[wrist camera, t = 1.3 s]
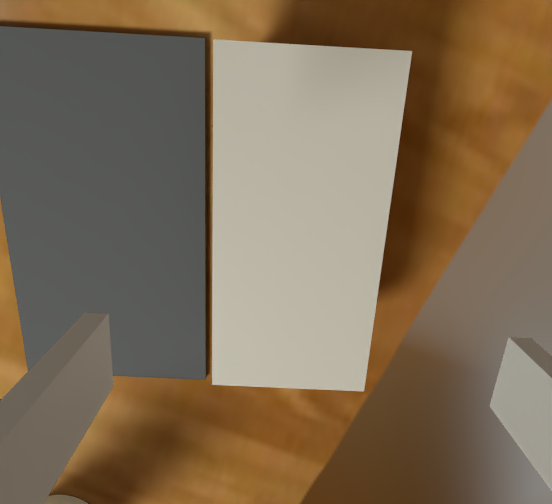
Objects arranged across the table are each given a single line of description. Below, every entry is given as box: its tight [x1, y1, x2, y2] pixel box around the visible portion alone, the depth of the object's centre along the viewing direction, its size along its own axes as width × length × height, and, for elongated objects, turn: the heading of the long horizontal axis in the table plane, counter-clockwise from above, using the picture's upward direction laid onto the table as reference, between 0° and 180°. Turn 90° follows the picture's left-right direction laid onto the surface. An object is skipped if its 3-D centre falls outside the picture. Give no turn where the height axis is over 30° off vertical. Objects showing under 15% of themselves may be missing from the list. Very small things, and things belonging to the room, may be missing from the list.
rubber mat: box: [0, 26, 206, 380], centre depth 33 cm, size 28×16×1 cm, turn 177°
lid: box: [212, 40, 412, 391], centre depth 27 cm, size 22×11×3 cm, turn 177°
